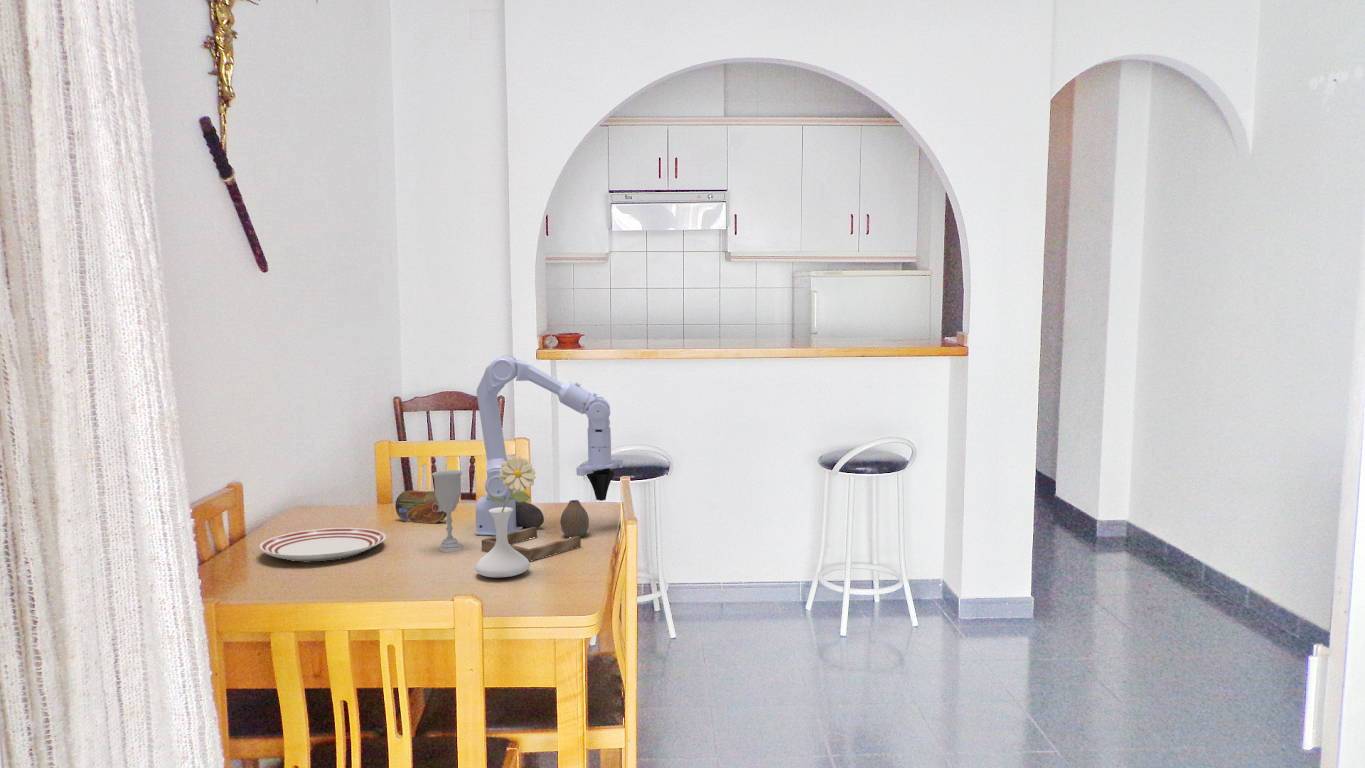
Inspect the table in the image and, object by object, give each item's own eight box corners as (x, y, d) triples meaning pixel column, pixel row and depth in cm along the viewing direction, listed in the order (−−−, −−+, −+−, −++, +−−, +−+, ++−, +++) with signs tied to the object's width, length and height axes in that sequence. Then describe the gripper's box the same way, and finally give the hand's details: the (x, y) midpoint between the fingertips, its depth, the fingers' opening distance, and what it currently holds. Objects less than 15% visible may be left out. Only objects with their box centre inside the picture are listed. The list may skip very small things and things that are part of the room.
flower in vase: (477, 584, 185) (472, 462, 183) (473, 569, 196) (469, 454, 194) (541, 578, 189) (538, 458, 187) (534, 563, 200) (531, 450, 198)
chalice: (456, 553, 209) (453, 476, 208) (429, 552, 211) (426, 475, 209) (470, 545, 216) (467, 470, 215) (443, 544, 218) (440, 469, 216)
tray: (529, 562, 201) (528, 551, 201) (481, 550, 212) (481, 540, 211) (580, 547, 213) (580, 536, 213) (533, 536, 224) (533, 526, 224)
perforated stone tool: (549, 528, 233) (549, 501, 232) (536, 532, 228) (535, 505, 228) (505, 521, 241) (504, 495, 240) (491, 526, 236) (490, 499, 235)
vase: (591, 532, 227) (590, 498, 226) (586, 539, 220) (585, 504, 219) (564, 532, 228) (563, 497, 227) (557, 539, 221) (556, 503, 220)
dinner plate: (334, 533, 232) (334, 520, 231) (411, 546, 218) (410, 532, 217) (233, 559, 208) (233, 545, 208) (312, 576, 194) (311, 560, 194)
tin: (395, 521, 243) (393, 490, 242) (402, 519, 246) (400, 488, 245) (445, 524, 238) (443, 492, 238) (451, 521, 241) (450, 490, 241)
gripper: (590, 451, 220) (591, 506, 222) (630, 443, 232) (632, 496, 233) (569, 449, 225) (571, 503, 226) (610, 441, 236) (612, 493, 237)
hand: (600, 499), depth 230 cm, fingers closed
